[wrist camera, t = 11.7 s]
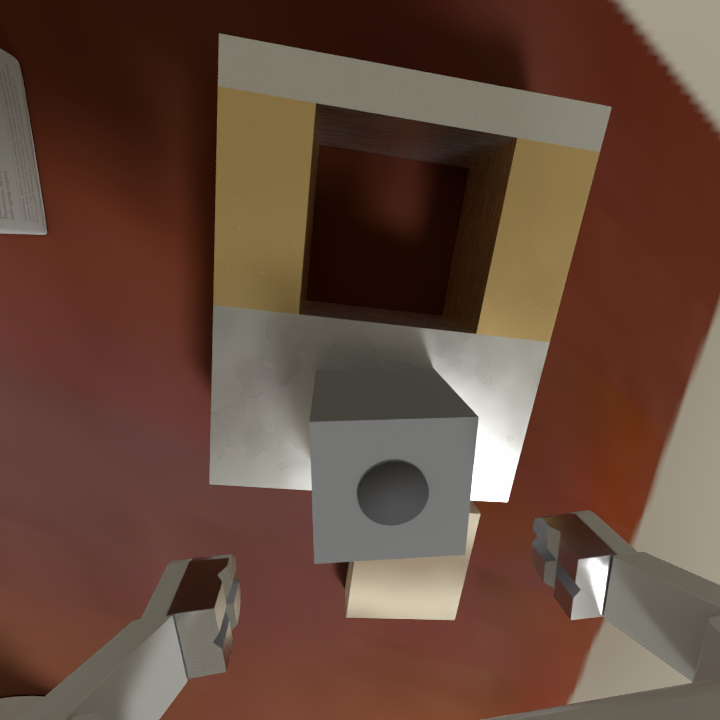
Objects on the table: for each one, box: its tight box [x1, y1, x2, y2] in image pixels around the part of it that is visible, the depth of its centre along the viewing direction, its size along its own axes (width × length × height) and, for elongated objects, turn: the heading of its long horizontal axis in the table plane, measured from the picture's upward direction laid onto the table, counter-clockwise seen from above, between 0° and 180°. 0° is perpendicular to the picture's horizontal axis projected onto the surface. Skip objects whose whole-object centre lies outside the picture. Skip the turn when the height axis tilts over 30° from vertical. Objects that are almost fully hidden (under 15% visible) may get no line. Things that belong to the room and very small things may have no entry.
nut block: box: [309, 368, 479, 564], centre depth 14 cm, size 5×5×5 cm
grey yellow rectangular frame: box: [210, 33, 612, 502], centre depth 17 cm, size 17×14×5 cm
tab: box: [345, 500, 480, 620], centre depth 23 cm, size 8×7×2 cm
